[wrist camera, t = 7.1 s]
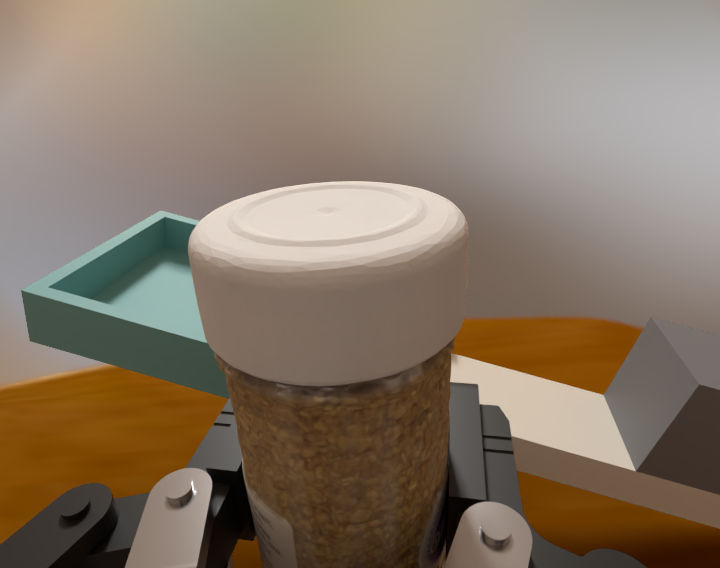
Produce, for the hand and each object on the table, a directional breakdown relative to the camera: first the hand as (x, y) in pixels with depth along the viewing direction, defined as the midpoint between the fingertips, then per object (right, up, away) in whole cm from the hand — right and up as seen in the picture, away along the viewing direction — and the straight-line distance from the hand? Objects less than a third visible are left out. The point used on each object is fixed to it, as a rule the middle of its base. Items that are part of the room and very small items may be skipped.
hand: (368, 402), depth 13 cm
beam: (+2, -1, +6) cm, 6 cm away
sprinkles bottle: (0, -8, +1) cm, 8 cm away
